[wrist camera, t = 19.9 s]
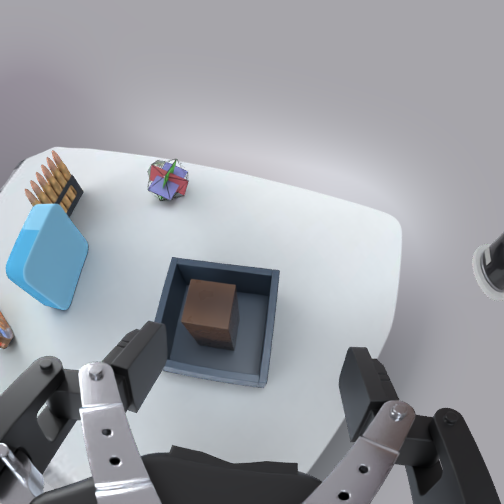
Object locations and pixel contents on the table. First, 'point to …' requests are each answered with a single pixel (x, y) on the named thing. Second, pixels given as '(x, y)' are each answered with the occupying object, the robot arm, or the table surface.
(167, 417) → the table surface
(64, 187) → the ammunition clip
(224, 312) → the block
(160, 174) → the geometric puzzle
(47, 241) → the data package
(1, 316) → the tin
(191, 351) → the bin
